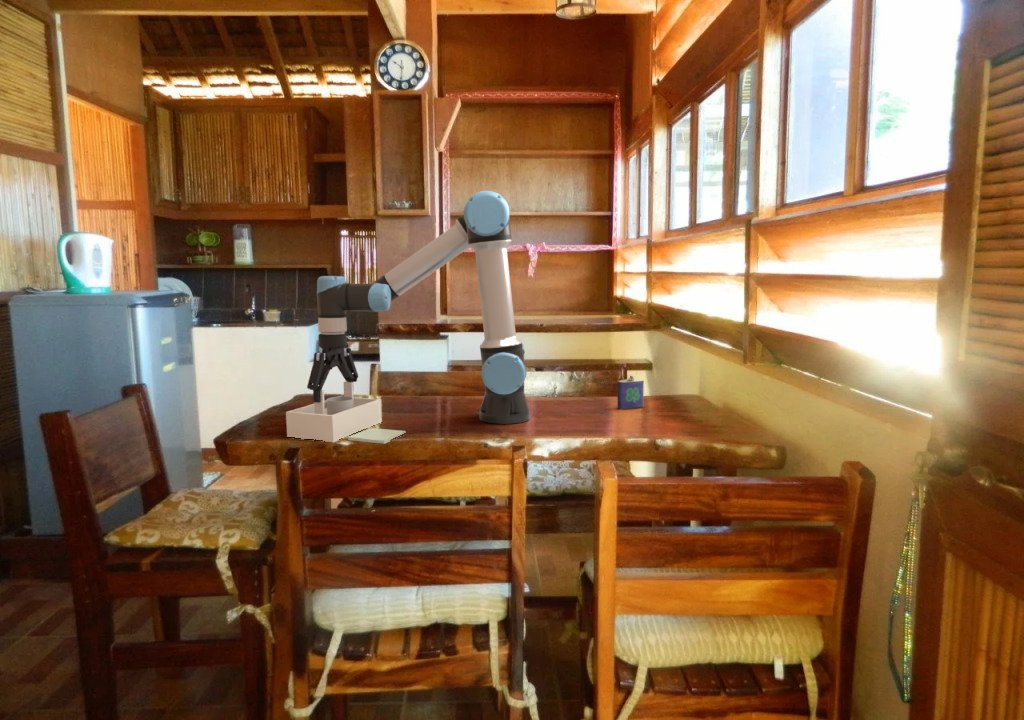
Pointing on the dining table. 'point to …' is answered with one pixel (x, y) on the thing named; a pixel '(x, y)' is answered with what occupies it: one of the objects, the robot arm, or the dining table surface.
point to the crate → (333, 421)
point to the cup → (338, 404)
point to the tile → (376, 435)
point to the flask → (630, 393)
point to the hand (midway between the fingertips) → (334, 409)
